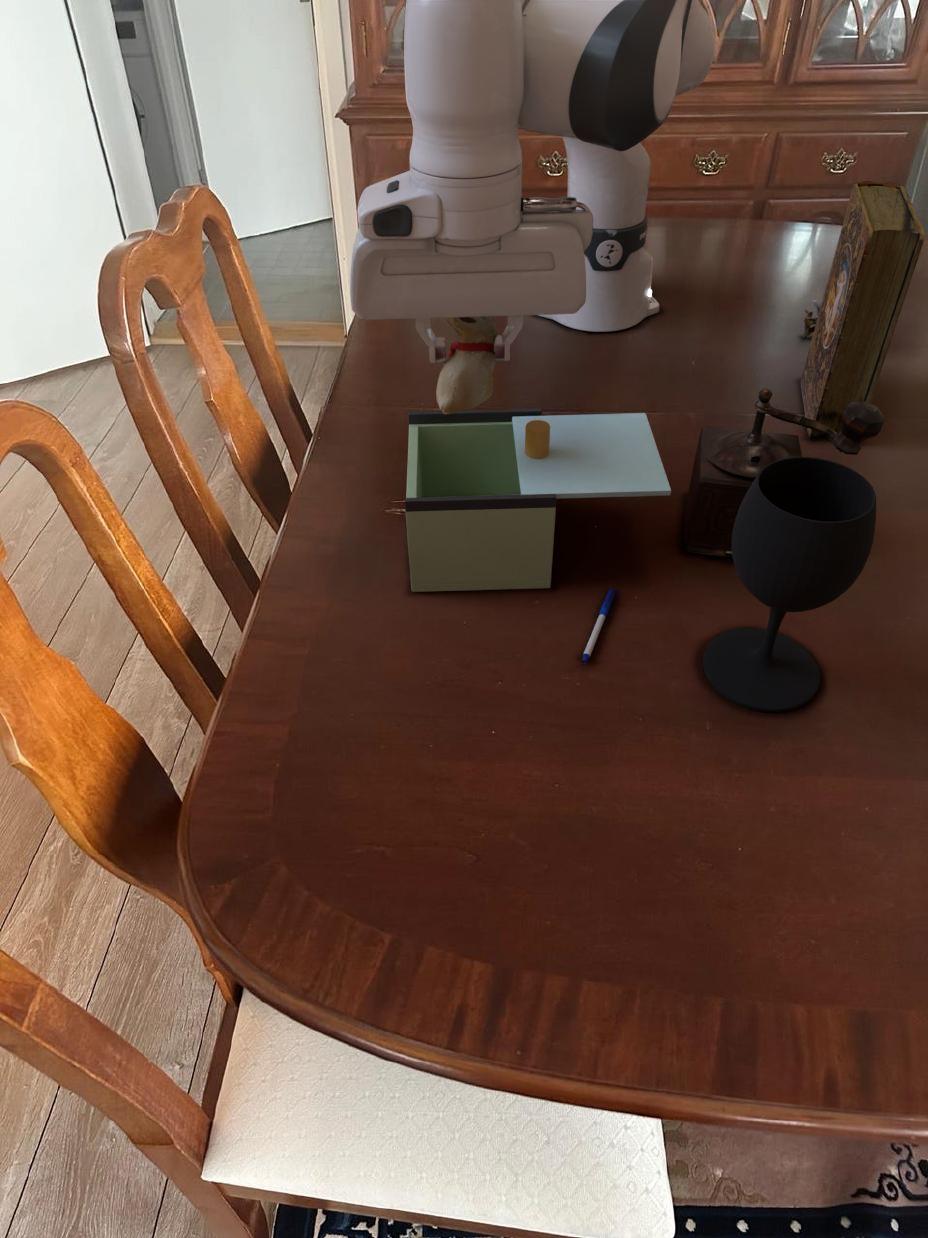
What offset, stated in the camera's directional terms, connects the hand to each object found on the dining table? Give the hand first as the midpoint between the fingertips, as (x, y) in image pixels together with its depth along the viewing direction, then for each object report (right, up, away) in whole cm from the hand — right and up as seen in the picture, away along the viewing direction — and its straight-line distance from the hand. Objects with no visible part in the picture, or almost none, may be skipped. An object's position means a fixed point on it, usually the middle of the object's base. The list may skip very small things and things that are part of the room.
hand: (469, 359), depth 81 cm
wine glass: (+26, -28, 0) cm, 39 cm away
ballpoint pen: (+12, -25, +4) cm, 28 cm away
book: (+46, +3, +33) cm, 56 cm away
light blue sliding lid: (+12, -7, +7) cm, 16 cm away
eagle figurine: (+52, +16, +46) cm, 71 cm away
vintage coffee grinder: (+31, -15, +15) cm, 37 cm away
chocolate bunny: (0, -3, +3) cm, 4 cm away
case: (+1, -15, +14) cm, 21 cm away
